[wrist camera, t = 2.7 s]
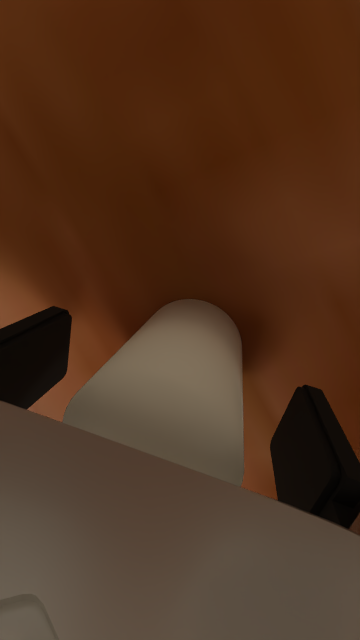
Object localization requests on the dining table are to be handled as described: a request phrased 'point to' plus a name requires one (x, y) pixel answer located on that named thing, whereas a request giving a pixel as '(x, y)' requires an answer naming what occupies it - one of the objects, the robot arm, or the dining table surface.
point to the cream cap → (173, 391)
